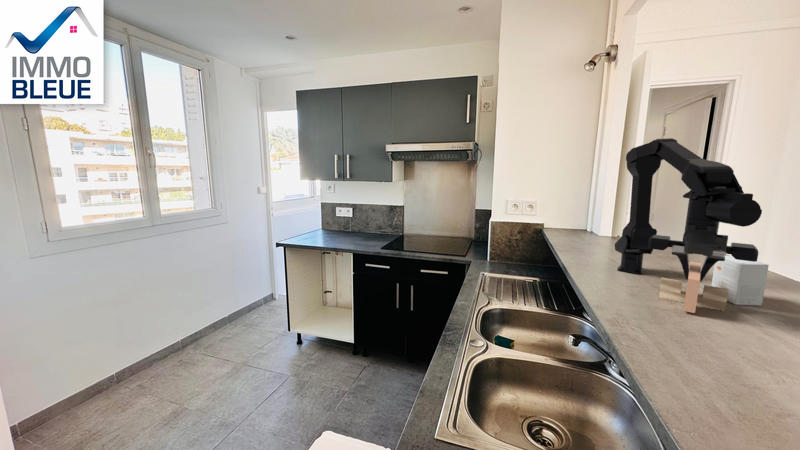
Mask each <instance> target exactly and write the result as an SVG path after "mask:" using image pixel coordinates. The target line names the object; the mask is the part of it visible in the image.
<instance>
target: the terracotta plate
mask: <svg viewBox="0 0 800 450" xmlns="http://www.w3.org/2000/svg"><path fill="white" fill-rule="evenodd" d="M701 269H702V263H701V262H694V261H690V262H689V275H688V280H687V283H686V290H685V292H686V296H685V302H684V303H683V312H688V313H692V314H695V313H696V309H697V306H696V304H697V297H698V294H699V289H700V283H701V282H700V273H701Z"/></svg>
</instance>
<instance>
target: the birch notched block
mask: <svg viewBox="0 0 800 450" xmlns="http://www.w3.org/2000/svg"><path fill="white" fill-rule="evenodd" d="M660 280H661V281H660V287H659V295H658V299H664V300H667V299H668V300H669V301H673V302H677V301H678V303H682V302H683V304H684V302H685V296H686V291H683V290H682V286H683V280H678V279H674V278H673V279H672V278H665V277H661V279H660ZM727 296H728V289H725V288H719V287H714V286H712V285H707V284H704V285H703V291H702V294H699V293H698V297H697V304H696V307H697V306H698V307H701V308H707V309H711V310H716V309H717V310H716V311H720V310H722V311H721V312H726V307H727V302H728V301H727ZM668 300H667V301H668Z"/></svg>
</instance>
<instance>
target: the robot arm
mask: <svg viewBox="0 0 800 450" xmlns="http://www.w3.org/2000/svg"><path fill="white" fill-rule="evenodd" d="M625 161H626V168H627V171H628V172H629V173H630V175H631V176H632V177H631V178H632V180H631V197H630V211H629V222H628V223H627V224H626V225H625V227H624V228H623V229H622V232H621V233H622V234H621V237H620V238H618V240H617V241H616V242H615V243H614V251H616V252H618V253H620V254H621V255H620V256H621V257H620V265H619V266H617V269H616V270H617V271H620V272H624V273H625V272H626V273H631V274H637V275H642V274H643V273H644V271H645V268H644V267H643V261H644V254H645V255H646V254H647V255H651V254H652V253H653V251H654V250H655V251H656V250H659V251H664V250H666V249H668V248H671V249H672V251H671V255H674V256H676V257H677V258H678V260H679V262H680V264H681V268H682V270H683V274H684V277H685V280H686V281H688V275H689V269H690V262H689V261H690V260H689V259H690V257H689V256H690V255H694V254H695V255H702V256H704V257H705V258H704V261H703V264H702V265H701V273H700V283H701V282H703V280H704V278H705V277H706V275H707V274H708V272H709V271H710V269H711V268H712V267H714V265H715V263H716V262H718V261H725V256H727V255H730V256H733V257H734V258H735V259H736V260H745V261H753V262H756V261H758V258H759V250H758V248H757V247H756V246H755V245H754V244H751V243H750V244H748V243H740V242H731V243H730V245H728V243H729V242H728V241H729V235H726V234H718V232H719V228H720V223H721V224H722V223H723V224H728V225H733V226H738V227H743V228H744V227H749V226H751V225H753V224H754V225H755V223H757V222H758V220H759V219H760V218H761V216H762V213H763V210H762V208H761V205H760V204H759V203H758V202H757V200H754V199H753V198H754V194H753V193H749V192H747V193H745V192H744V190H743V187H742V185H741V184H740V182H739V181H738V179H737V177H736V175H735V174H734V169H733V168H732V167H731V166H730V165H727V164H726V163H725V164H724V163H722V162H719V161H714V160H709V159H705V158H702V157H700V156H699V155H697V154H696V153H694V152H693V151H691V150H690V149H688V148H686V147H685V146H683V145H682V144H680V143H679V142H678V141H677V139H675V138H656V139H653V140H652V141H650V142H648V143H645V144H641V145H638V146H636V147H633V148H631V149H630V150H629V151H628V152H627V153H626V155H625ZM662 161H665V162H666V163H668V165H671V166H672V167H673V168H674V169H676V170H677V171H678V172H680V174H681V177H680V178H681V181H682V182H683V184H684V185H685V186H686V187H687V188H688V189H689V191H687V192H685V193H684V194H683V195H682V198H684V199H688V204H687V212H686V219H685V225H684V233H683V234H682V235H683V236H682V240H674V239H671V236H669V235H658V234H657V233H658V231H657V228H653V226H652V225H651V223H650V218H651V217H650V216H651V206H652V205H651V204H652V203H651V202H652V187H653V179H654V178H653V177H654V175H655V174H656V173H657V171H658V170H659V168H660V167H661V164H662Z"/></svg>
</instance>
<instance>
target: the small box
mask: <svg viewBox="0 0 800 450" xmlns="http://www.w3.org/2000/svg"><path fill="white" fill-rule="evenodd" d="M769 266H770V265H769V264H767V263H763V262H760V261H758V260H757V261H756V262H753V261H745V260H736V259H735V258H734V257H733V256H732V255H725V261H718V262H716V263H715V264H714V265H713V272H712V273H713V274H712V279H711V286H714V287H719V288H725V289H728V296H727V302H729V303H731V304H733V305H737V306H745V305H746V306H762V305H763V301H764V294H765V288H766V283H767V276H768V271H769Z"/></svg>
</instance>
